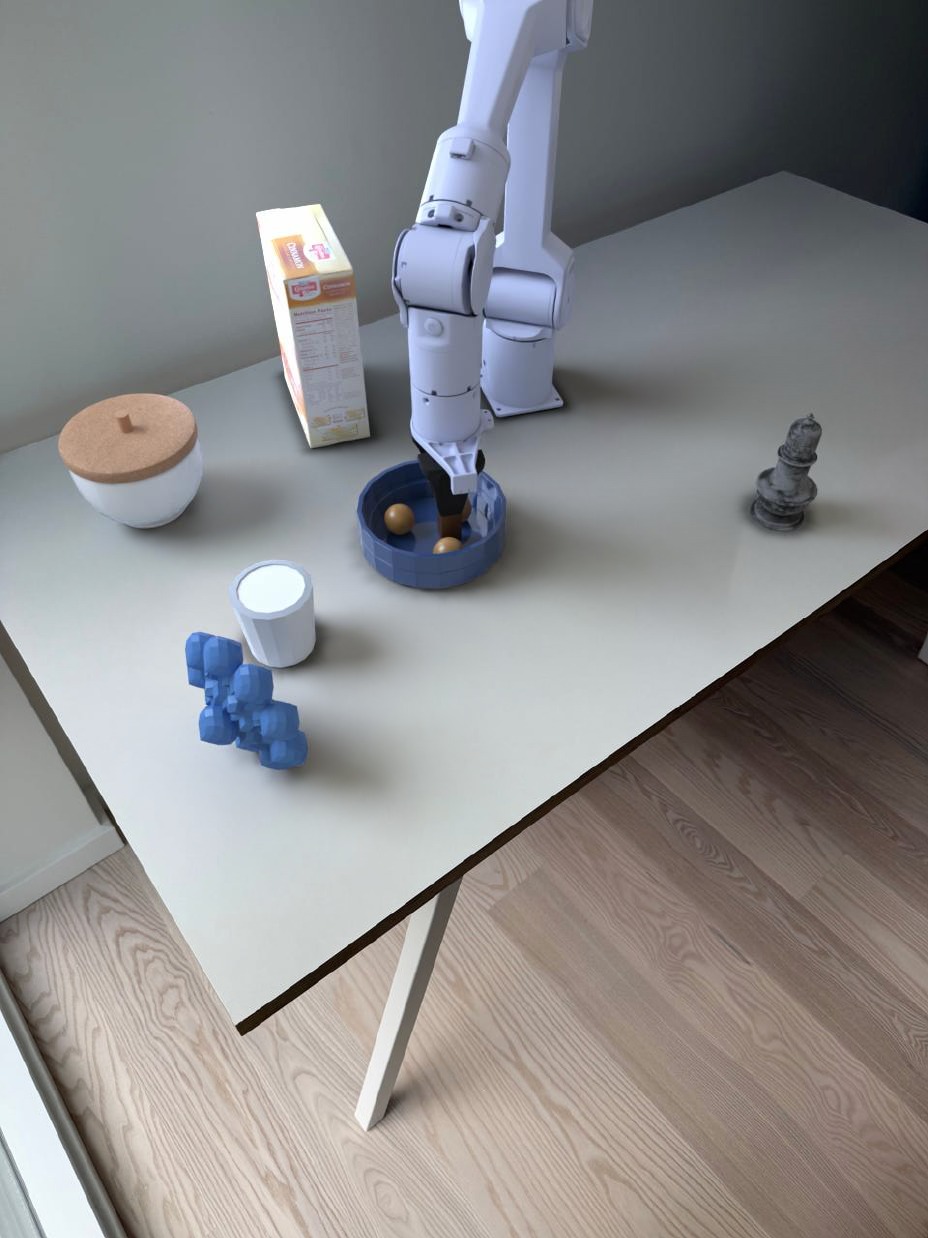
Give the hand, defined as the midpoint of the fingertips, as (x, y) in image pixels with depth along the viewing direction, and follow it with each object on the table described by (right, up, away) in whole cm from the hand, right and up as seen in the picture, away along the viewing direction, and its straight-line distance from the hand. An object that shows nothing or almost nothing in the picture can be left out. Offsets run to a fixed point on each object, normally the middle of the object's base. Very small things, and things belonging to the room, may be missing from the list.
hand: (447, 504), depth 82 cm
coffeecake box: (-14, +14, +20) cm, 28 cm away
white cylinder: (-14, -13, -4) cm, 20 cm away
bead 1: (-5, -1, +4) cm, 6 cm away
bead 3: (+1, 0, +5) cm, 5 cm away
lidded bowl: (-30, +1, +8) cm, 31 cm away
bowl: (-2, -3, +5) cm, 6 cm away
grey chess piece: (+33, 0, +7) cm, 34 cm away
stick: (0, -3, +3) cm, 4 cm away
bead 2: (0, -5, +1) cm, 5 cm away
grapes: (-16, -21, -12) cm, 29 cm away
